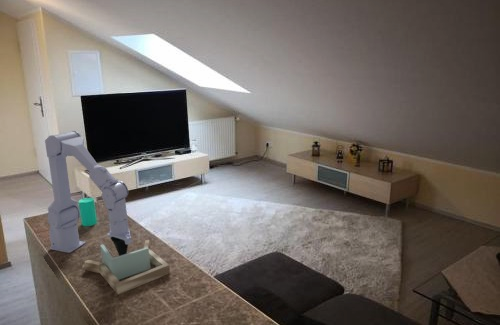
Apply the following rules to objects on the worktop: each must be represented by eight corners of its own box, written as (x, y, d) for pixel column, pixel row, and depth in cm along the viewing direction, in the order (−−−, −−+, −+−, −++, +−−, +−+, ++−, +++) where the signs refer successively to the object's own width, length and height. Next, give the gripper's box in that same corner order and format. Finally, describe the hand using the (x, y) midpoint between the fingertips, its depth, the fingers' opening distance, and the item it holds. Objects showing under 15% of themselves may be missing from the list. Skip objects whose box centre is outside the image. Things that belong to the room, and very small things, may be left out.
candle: (93, 226, 156) (89, 199, 153) (79, 226, 157) (75, 199, 153) (99, 220, 162) (95, 194, 159) (85, 220, 162) (81, 194, 159)
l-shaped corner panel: (150, 268, 124) (148, 248, 122) (113, 281, 117) (110, 260, 115) (137, 254, 133) (135, 234, 131) (103, 265, 126) (100, 245, 124)
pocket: (85, 269, 124) (83, 261, 123) (149, 246, 138) (148, 239, 137) (108, 298, 109) (107, 289, 108) (177, 269, 123) (177, 261, 122)
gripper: (98, 215, 127) (103, 251, 130) (114, 229, 116) (119, 268, 120) (118, 209, 131) (123, 245, 135) (136, 222, 120) (140, 260, 124)
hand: (122, 255), depth 128 cm, fingers closed
